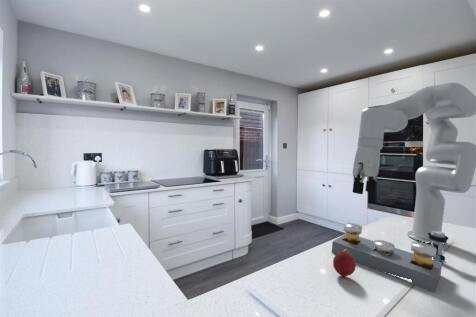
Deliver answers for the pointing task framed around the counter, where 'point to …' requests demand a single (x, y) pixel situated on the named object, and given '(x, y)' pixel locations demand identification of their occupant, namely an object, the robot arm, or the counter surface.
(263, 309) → the counter surface
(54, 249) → the counter surface
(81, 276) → the counter surface
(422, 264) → the knob
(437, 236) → the push button
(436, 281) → the knob panel
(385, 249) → the knob middle
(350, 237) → the knob
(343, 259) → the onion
